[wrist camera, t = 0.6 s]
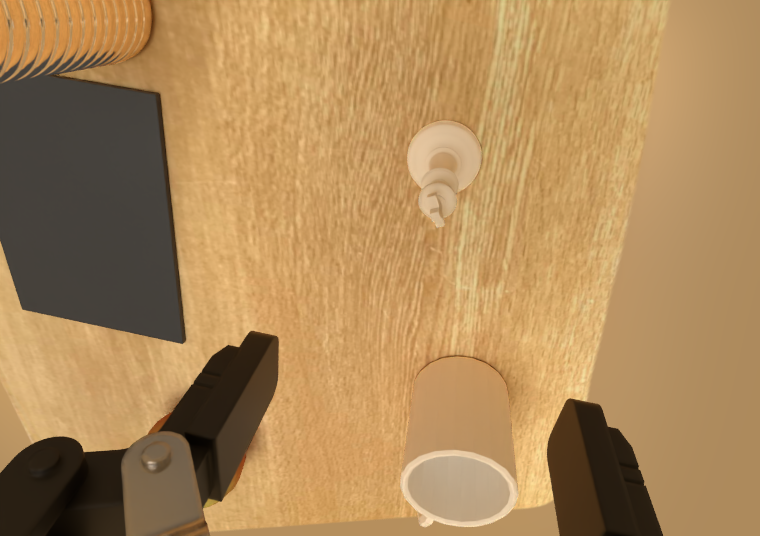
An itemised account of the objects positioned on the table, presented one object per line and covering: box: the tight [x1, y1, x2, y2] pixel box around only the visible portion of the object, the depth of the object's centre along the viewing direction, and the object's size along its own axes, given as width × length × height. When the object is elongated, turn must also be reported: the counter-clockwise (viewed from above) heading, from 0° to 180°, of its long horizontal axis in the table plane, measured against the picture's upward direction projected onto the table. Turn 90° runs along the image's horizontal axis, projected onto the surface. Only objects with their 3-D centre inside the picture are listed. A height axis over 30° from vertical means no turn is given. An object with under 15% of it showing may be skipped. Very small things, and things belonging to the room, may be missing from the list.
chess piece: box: [407, 120, 482, 228], centre depth 27 cm, size 5×5×10 cm
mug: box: [400, 356, 518, 527], centre depth 38 cm, size 8×12×10 cm
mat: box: [0, 75, 185, 344], centre depth 38 cm, size 22×16×1 cm
